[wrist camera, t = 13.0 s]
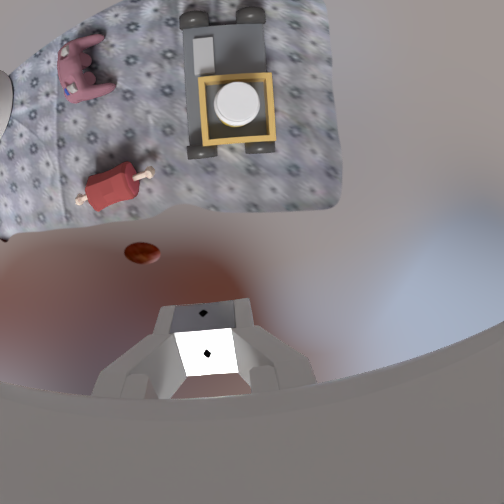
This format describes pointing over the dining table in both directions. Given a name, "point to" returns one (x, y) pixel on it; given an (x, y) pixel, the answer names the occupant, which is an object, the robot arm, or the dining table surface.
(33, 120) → the dining table surface
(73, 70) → the video game controller
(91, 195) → the meat
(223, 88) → the supplement bottle
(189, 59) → the chassis
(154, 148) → the dining table surface
